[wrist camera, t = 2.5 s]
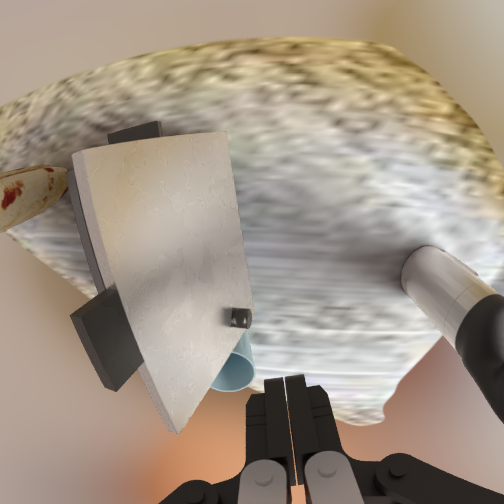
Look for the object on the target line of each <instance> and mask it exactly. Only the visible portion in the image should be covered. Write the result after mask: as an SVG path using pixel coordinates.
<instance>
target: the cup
mask: <svg viewBox="0 0 504 504" xmlns="http://www.w3.org/2000/svg"><path fill="white" fill-rule="evenodd" d="M254 377H255V366H254V361H253V356H252V351H251V346H250V341H249V336H248V331H247V329H245V331H244V333H243V334H242V336H241V338H240V339H239V341H238V343H237V344H236V346H235V347H234V349H233V351H232V352H231V354H230V356H229V357H228V359H227V360H226V362H225V364H224V365H223V367H222V368H221V370H220V372H219V373H218V375H217V376H216V378H215V380H214V381H213V383H212V384H211V386H210V387H211V388H213V389H215V390H218V391H223V392H233V391H238V390H241V389H244V388H245V387H247V386H248V385H250V384H251V382H252V381H253V380H254Z"/></svg>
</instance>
